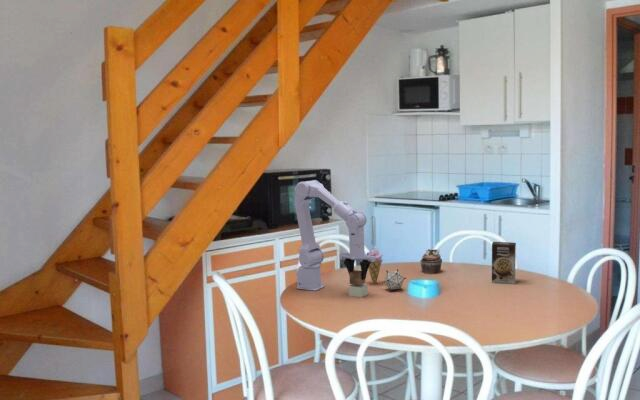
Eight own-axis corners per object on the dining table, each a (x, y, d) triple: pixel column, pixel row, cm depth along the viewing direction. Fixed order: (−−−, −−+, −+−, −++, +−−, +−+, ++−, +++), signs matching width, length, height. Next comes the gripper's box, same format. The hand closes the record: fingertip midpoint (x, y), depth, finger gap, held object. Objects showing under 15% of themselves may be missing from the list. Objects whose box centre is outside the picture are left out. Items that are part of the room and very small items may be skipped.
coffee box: (491, 283, 236) (491, 244, 234) (492, 279, 242) (492, 241, 240) (514, 284, 232) (514, 244, 231) (515, 280, 238) (515, 241, 237)
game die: (398, 300, 229) (405, 283, 223) (378, 292, 231) (384, 275, 224) (403, 284, 236) (410, 268, 229) (383, 276, 237) (389, 260, 231)
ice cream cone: (383, 281, 244) (382, 246, 242) (383, 285, 238) (382, 249, 236) (367, 282, 244) (366, 247, 243) (367, 285, 238) (366, 249, 237)
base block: (348, 296, 224) (348, 286, 224) (355, 292, 229) (354, 282, 228) (361, 297, 221) (361, 287, 221) (367, 294, 226) (367, 284, 226)
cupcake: (419, 269, 264) (419, 247, 263) (441, 269, 263) (441, 247, 262) (420, 274, 255) (420, 252, 254) (443, 274, 253) (442, 251, 252)
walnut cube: (349, 284, 224) (349, 272, 223) (355, 281, 227) (354, 270, 227) (360, 285, 221) (359, 273, 221) (365, 282, 225) (365, 271, 225)
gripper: (335, 244, 223) (336, 279, 225) (369, 247, 216) (370, 282, 217) (343, 241, 229) (344, 275, 231) (377, 243, 222) (378, 278, 223)
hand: (357, 278), depth 224 cm, fingers closed on walnut cube, 4 cm apart
